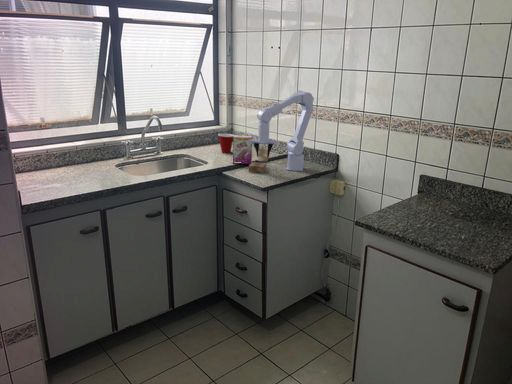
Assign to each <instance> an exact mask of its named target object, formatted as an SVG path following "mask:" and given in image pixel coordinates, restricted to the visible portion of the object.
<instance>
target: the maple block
mask: <svg viewBox="0 0 512 384" xmlns="http://www.w3.org/2000/svg"><path fill="white" fill-rule="evenodd" d="M267 155H268V148H262V147H259V150H258V157H257V161H258V162H268V160H269V158H267Z"/></svg>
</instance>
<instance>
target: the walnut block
mask: <svg viewBox="0 0 512 384" xmlns="http://www.w3.org/2000/svg"><path fill="white" fill-rule="evenodd" d="M266 170H267V163H265V162H260V161H258V162H257V161H252V163H251V164H248V173H255V174H256V173H257V174H264V172H265V171H266Z"/></svg>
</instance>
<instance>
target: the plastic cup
mask: <svg viewBox="0 0 512 384" xmlns="http://www.w3.org/2000/svg"><path fill="white" fill-rule="evenodd" d="M234 135H235V134H232V133H218V134H217V136H218V139H219V146H220V150H221V153H222V154H230V153H231V150H232V148H233V137H234Z"/></svg>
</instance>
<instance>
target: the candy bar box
mask: <svg viewBox="0 0 512 384" xmlns="http://www.w3.org/2000/svg"><path fill="white" fill-rule="evenodd" d="M233 135H234V137H233V141H232V164H234V162H241V163H245V164H244V165H250V164H251V163H252V162H253V143H252V144H250V140H254V138H253V137H254V136H253V135H252V136H251V135H237V134H236V135H235V134H233Z"/></svg>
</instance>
